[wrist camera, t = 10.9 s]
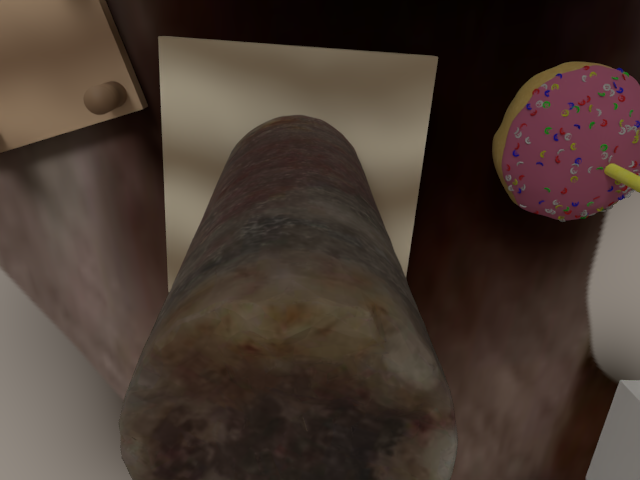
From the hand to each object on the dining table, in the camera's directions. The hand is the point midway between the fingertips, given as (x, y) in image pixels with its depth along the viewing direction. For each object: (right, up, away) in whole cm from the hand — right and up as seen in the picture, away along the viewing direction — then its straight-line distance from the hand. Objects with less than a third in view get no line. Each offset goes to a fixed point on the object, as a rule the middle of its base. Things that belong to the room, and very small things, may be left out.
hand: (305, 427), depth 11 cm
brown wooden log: (-1, +7, +18) cm, 20 cm away
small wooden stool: (-1, +9, +22) cm, 24 cm away
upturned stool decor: (-16, +15, +18) cm, 28 cm away
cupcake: (+14, +11, +22) cm, 28 cm away
